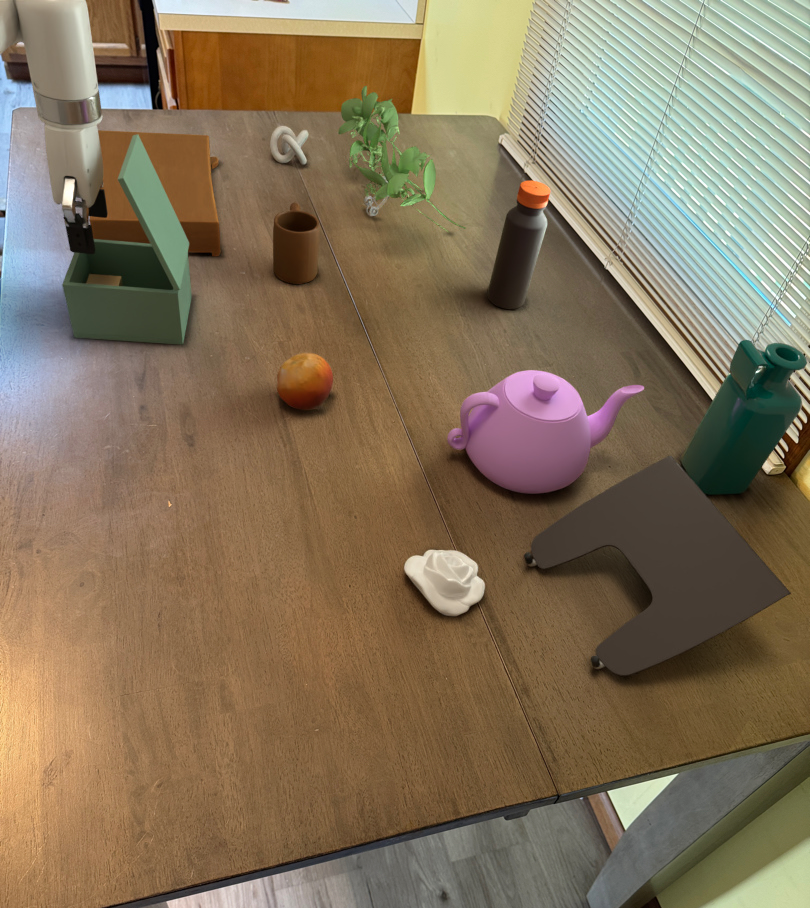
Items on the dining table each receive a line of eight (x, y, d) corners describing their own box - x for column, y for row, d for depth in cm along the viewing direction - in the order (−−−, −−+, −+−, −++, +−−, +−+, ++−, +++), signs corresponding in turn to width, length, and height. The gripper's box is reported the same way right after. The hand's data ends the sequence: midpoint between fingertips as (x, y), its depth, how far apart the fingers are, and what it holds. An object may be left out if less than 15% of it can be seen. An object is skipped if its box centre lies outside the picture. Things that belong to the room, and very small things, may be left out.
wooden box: (78, 219, 123) (87, 121, 144) (86, 256, 128) (94, 156, 149) (228, 222, 128) (216, 127, 149) (230, 257, 133) (218, 161, 154)
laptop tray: (521, 566, 104) (509, 534, 97) (670, 483, 104) (670, 444, 96) (614, 712, 92) (609, 688, 84) (784, 618, 91) (794, 585, 84)
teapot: (454, 503, 102) (475, 426, 92) (433, 414, 113) (450, 336, 103) (628, 502, 107) (667, 428, 97) (592, 416, 118) (623, 342, 108)
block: (89, 317, 116) (83, 290, 112) (94, 300, 119) (89, 273, 115) (120, 320, 116) (116, 293, 113) (125, 302, 119) (121, 276, 116)
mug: (271, 246, 137) (272, 194, 130) (314, 248, 138) (317, 197, 131) (273, 284, 129) (273, 231, 122) (318, 286, 131) (321, 234, 123)
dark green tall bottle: (725, 454, 117) (801, 331, 100) (750, 495, 111) (835, 373, 95) (666, 455, 115) (734, 330, 98) (689, 497, 109) (765, 373, 93)
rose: (398, 582, 87) (416, 521, 93) (393, 604, 90) (411, 544, 97) (483, 605, 87) (496, 542, 93) (475, 627, 90) (488, 565, 96)
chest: (74, 337, 113) (61, 284, 107) (90, 289, 121) (79, 237, 115) (183, 345, 116) (177, 293, 109) (191, 297, 124) (187, 246, 117)
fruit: (337, 417, 108) (311, 371, 103) (290, 428, 111) (262, 384, 106) (350, 382, 113) (325, 337, 108) (304, 394, 116) (278, 350, 111)
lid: (117, 179, 96) (123, 177, 96) (132, 135, 104) (138, 133, 104) (174, 291, 109) (180, 290, 109) (184, 244, 117) (189, 243, 117)
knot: (268, 166, 156) (268, 136, 151) (272, 148, 161) (272, 119, 156) (305, 171, 157) (306, 141, 152) (308, 153, 162) (309, 124, 157)
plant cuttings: (382, 201, 167) (303, 137, 151) (436, 136, 159) (360, 62, 144) (435, 293, 146) (350, 230, 131) (500, 224, 139) (419, 148, 124)
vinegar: (497, 312, 133) (527, 199, 118) (480, 290, 137) (506, 178, 121) (531, 307, 135) (564, 196, 120) (512, 286, 139) (542, 176, 124)
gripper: (51, 72, 100) (74, 200, 113) (18, 130, 89) (47, 264, 102) (112, 80, 101) (127, 206, 114) (87, 138, 90) (107, 270, 103)
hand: (89, 233), depth 108 cm, fingers open, 9 cm apart
